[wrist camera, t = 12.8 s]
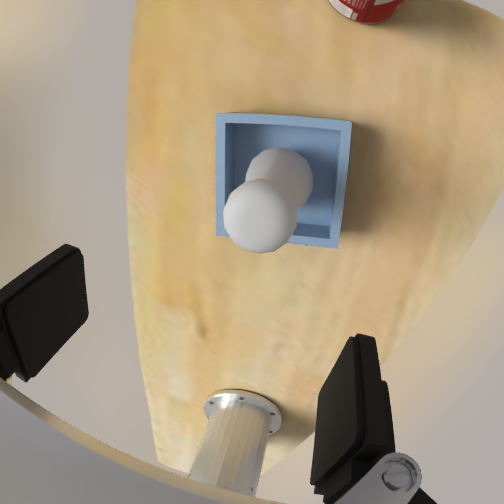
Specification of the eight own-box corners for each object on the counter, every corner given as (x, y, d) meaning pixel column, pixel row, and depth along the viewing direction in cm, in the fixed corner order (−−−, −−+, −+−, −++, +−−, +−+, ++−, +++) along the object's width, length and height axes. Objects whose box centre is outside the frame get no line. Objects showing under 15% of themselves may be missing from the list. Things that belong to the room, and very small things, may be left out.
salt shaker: (267, 133, 27) (229, 152, 16) (324, 161, 28) (329, 201, 16) (242, 188, 30) (192, 243, 19) (296, 215, 30) (280, 286, 19)
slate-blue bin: (335, 231, 31) (337, 248, 27) (227, 220, 33) (216, 235, 29) (347, 120, 26) (351, 121, 23) (228, 112, 28) (216, 113, 24)
